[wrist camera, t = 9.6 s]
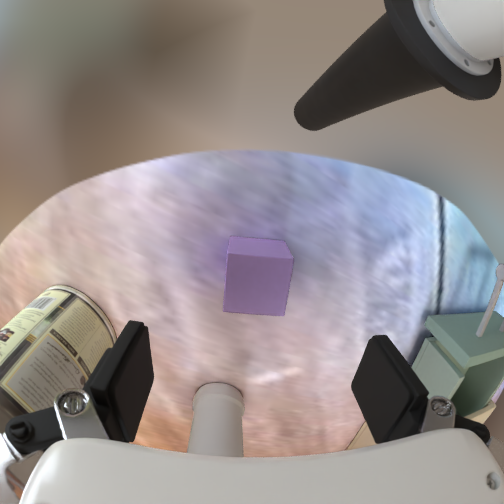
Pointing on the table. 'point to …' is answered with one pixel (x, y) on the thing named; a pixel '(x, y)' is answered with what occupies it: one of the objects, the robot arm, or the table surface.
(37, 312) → the coffee can
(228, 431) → the bottle
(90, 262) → the table surface
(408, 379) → the robot arm
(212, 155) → the table surface
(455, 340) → the drawer
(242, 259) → the purple cube
